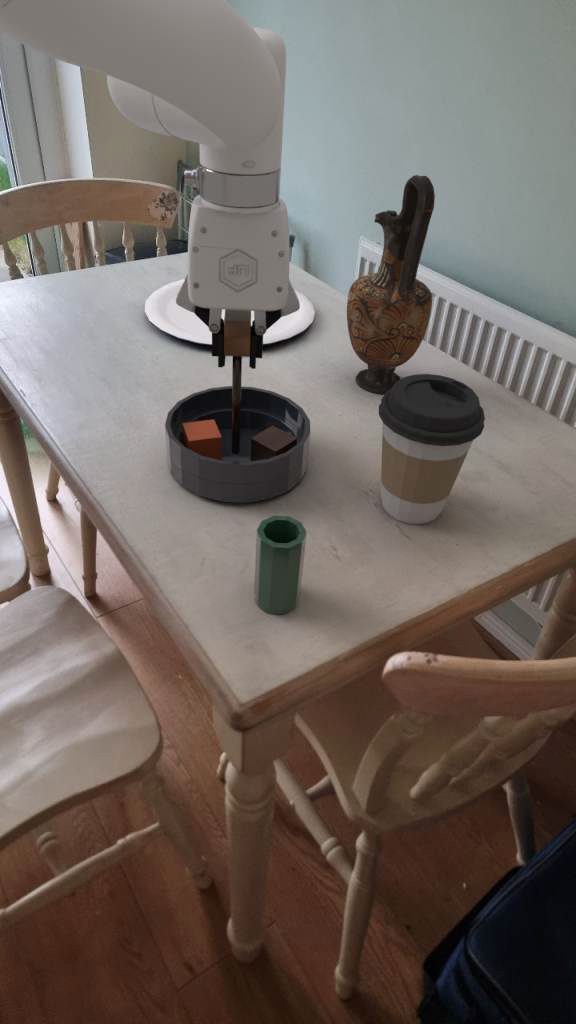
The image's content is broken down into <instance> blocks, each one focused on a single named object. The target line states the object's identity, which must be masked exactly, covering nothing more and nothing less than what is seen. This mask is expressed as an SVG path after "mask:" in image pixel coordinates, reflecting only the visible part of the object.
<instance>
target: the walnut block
mask: <svg viewBox="0 0 576 1024" xmlns="http://www.w3.org/2000/svg"><path fill="white" fill-rule="evenodd" d="M296 445H297V438H296V437H294V436H292V435H290V434H288V433H287V432H285V431H283V430H281V429H279V428H277V427H275V426H271V427H269V428H268V429H266V430H264V431H263V432H261V433H259V434H257V435H256V436H254V437H252V438H251V461H258V460H265V459H270V458H272V457H275V456H278V455H280V454H283V453H286V452H287V451H289V450H290V449H292V448H293V447H294V446H296Z"/></svg>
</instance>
